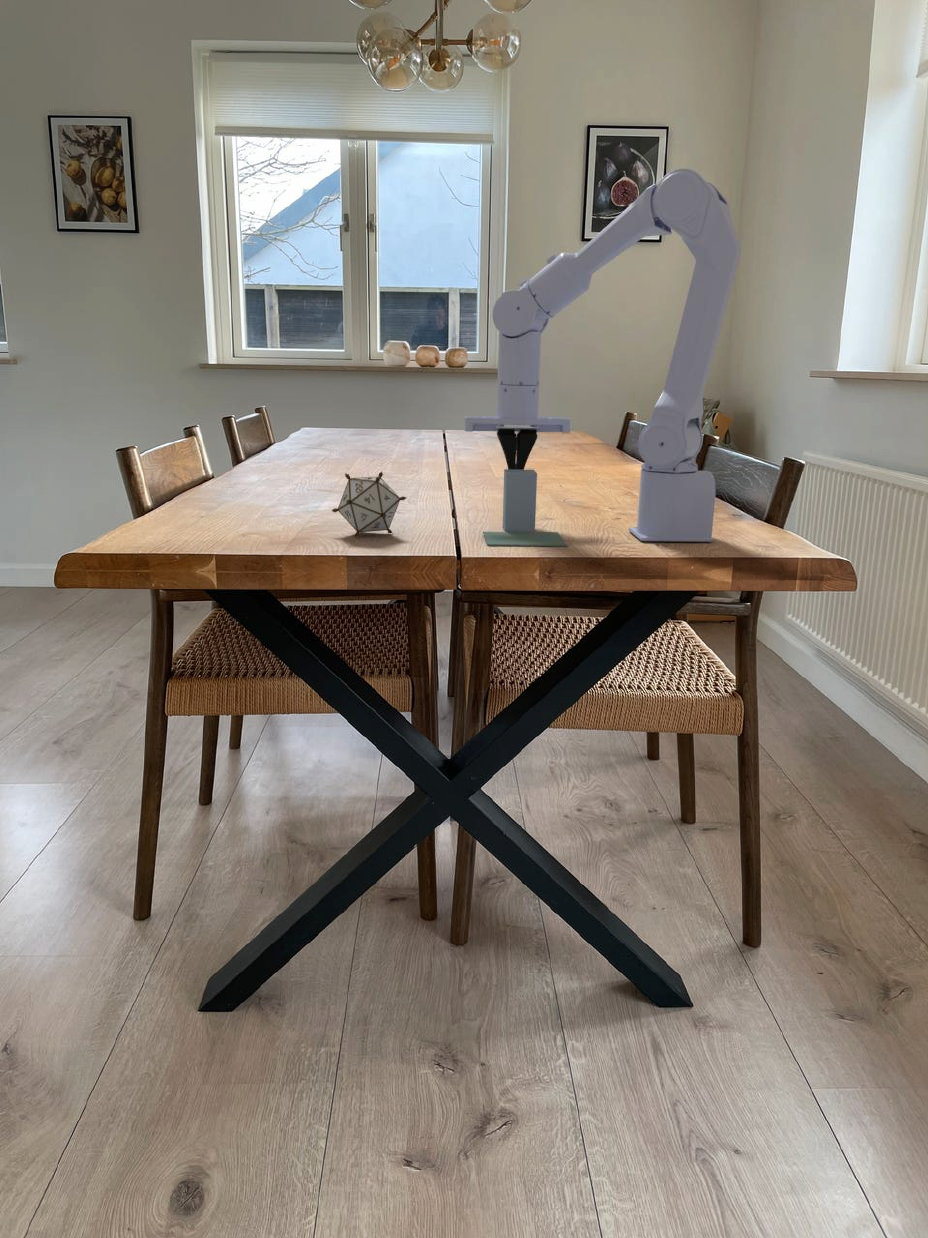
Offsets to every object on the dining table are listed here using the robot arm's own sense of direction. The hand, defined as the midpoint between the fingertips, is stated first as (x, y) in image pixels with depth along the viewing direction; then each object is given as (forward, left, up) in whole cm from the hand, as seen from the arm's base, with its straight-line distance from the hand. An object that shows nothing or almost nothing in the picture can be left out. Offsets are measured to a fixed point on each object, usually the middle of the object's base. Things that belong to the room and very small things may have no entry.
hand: (515, 484), depth 133 cm
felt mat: (0, +13, -5) cm, 14 cm away
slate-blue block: (0, +6, -5) cm, 8 cm away
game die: (+20, +10, -6) cm, 23 cm away
